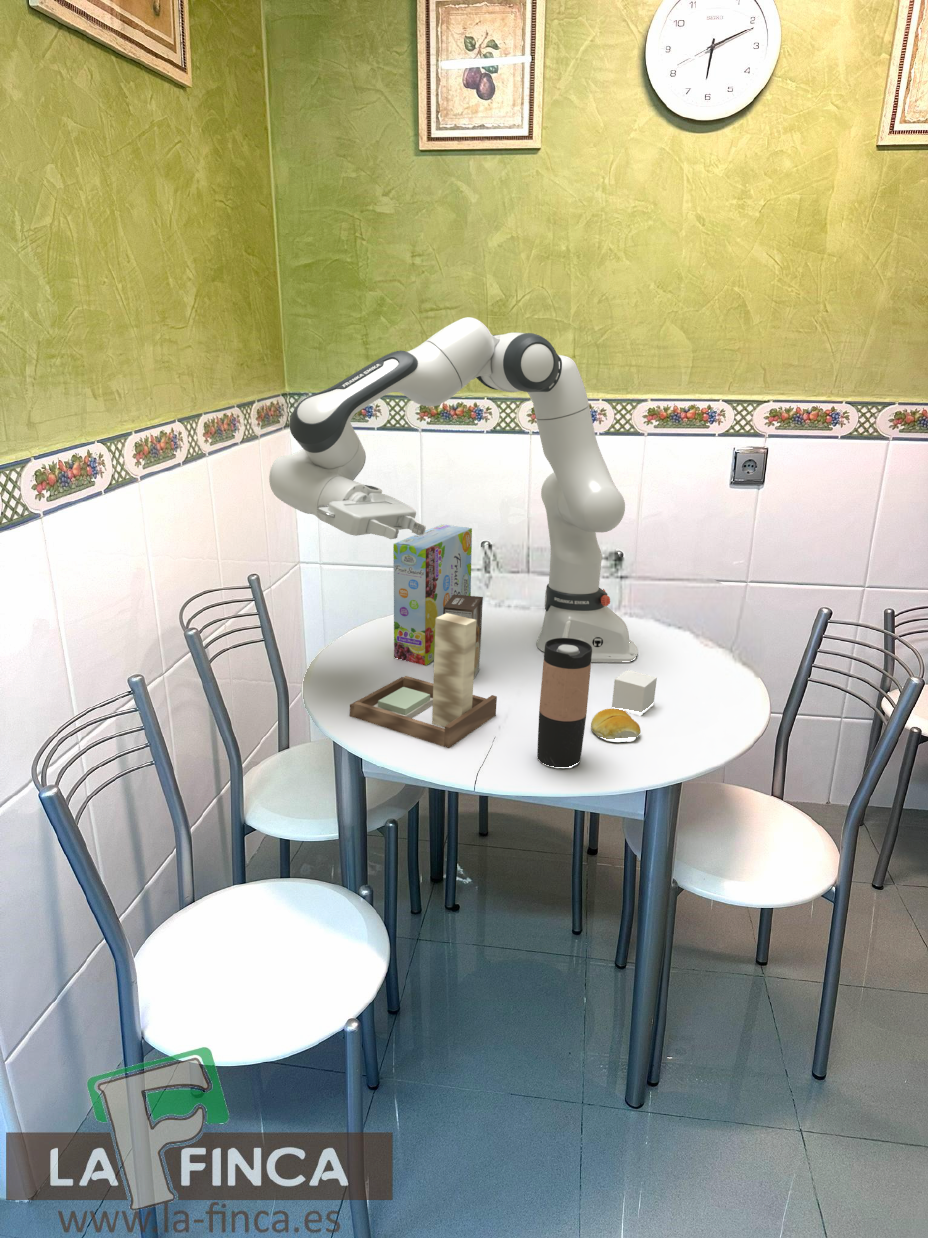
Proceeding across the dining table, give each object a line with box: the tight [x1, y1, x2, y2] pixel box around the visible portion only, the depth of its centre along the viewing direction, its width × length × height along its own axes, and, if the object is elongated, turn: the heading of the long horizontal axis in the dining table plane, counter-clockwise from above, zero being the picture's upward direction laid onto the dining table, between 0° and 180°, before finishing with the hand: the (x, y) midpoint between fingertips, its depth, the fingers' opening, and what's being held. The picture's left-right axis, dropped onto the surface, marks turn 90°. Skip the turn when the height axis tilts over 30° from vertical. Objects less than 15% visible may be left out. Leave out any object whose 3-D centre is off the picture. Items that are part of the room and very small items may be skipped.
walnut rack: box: [349, 675, 498, 749], centre depth 152 cm, size 21×16×4 cm
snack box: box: [392, 523, 473, 667], centre depth 183 cm, size 22×9×26 cm, turn 154°
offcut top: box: [378, 687, 430, 715], centre depth 154 cm, size 6×8×1 cm
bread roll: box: [590, 708, 641, 739], centre depth 150 cm, size 8×9×4 cm
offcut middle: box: [374, 698, 433, 719], centre depth 155 cm, size 7×10×1 cm
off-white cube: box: [611, 669, 658, 712], centre depth 160 cm, size 6×6×6 cm
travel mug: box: [536, 638, 592, 767], centre depth 137 cm, size 8×8×20 cm
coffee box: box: [443, 594, 484, 680], centre depth 169 cm, size 9×6×16 cm
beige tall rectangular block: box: [431, 613, 477, 728], centre depth 147 cm, size 6×4×20 cm, turn 59°
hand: (410, 532), depth 146 cm, fingers open, 8 cm apart
